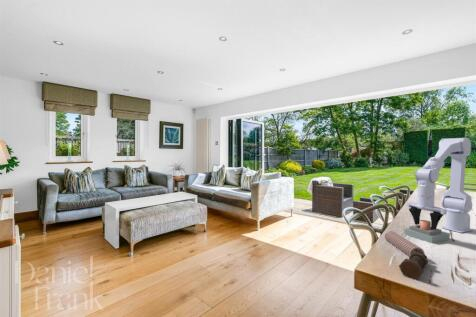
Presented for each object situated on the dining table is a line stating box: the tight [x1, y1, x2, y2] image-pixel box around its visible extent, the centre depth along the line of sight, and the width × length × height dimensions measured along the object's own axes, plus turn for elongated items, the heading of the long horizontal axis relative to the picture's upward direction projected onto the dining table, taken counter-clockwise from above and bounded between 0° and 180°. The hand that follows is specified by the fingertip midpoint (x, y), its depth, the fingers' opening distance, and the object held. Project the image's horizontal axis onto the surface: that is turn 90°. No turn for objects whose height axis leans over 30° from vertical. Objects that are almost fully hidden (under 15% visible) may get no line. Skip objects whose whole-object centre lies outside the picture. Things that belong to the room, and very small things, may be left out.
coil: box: [384, 230, 426, 257], centre depth 89 cm, size 5×5×18 cm
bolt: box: [398, 252, 429, 280], centre depth 74 cm, size 6×5×15 cm
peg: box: [419, 219, 431, 230], centre depth 102 cm, size 4×4×7 cm
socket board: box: [404, 224, 451, 244], centre depth 103 cm, size 12×11×4 cm
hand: (425, 226), depth 102 cm, fingers open, 6 cm apart
